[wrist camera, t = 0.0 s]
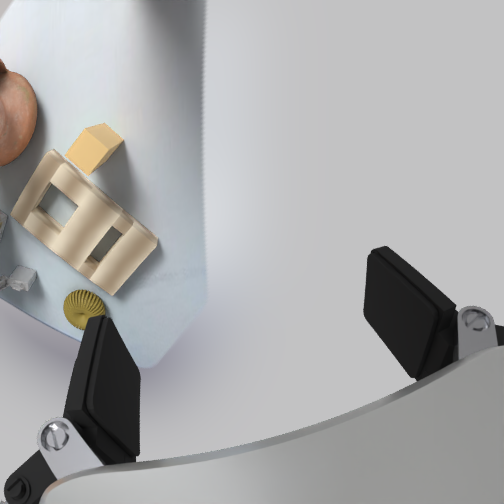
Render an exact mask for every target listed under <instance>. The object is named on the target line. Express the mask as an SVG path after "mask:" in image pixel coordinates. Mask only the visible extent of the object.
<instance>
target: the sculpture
mask: <svg viewBox="0 0 504 504" xmlns="http://www.w3.org/2000/svg"><path fill="white" fill-rule="evenodd" d="M89 294H90V296H89ZM92 294H93V292H91V293H90V291H88V292H87V290H76V291H74V292H71V293H70V294H69V295H68V296H67V297H66V299H65V301H64V307H63V310H64V314H65V317H66V318H67V320H68V321H69V322H70V323H71V324H72V325H73V326H74V327H76V326H77V327H76V328H78V327H79V329H80V330H81V328H82V330H85V328H86V324H87V321H88V319H89V318H90V317H94V316H99V315H105V307H104V304H103V302H102V301H101V299H100V298H99V297H98V296H96V294H93V295H92ZM95 298H96V299H95ZM79 325H80V326H79Z"/></svg>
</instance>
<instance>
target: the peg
mask: <svg viewBox="0 0 504 504" xmlns="http://www.w3.org/2000/svg"><path fill="white" fill-rule="evenodd" d="M123 141H124V140H123V139H122V138H121V137H120V136H119V135H118V134H117V133H115V132H114V131H113V130H112V129H111V128H110V127H109V126H108V125H106V124H105V123H103V124H99V125H95V126H92V127H88V128H85V129H84V130H83V132H82V133H81V134H80V135H79V137H78V138H77V139H76V141H75V142H74V143H73V145H72V146H71V147H70V149H69V150H68V151H67V153H66V154H65V156H66V157H67V158H68V159H69V160H70V161H72V162H73V163H74V164H75V165H76V166H77V167H78V168H79V169H81V170H82V171H83V172H84V173H85V174H86V175H87V176H89V175H90V174H91V173H92V172H94V171H95V170H96V169H97V168H98V167H100V166H101V165H102V164H103V163H104V162H106V161H107V160H108V158H109V157H110V156H111V155H112V154H113V152H114V151H115V150H116V149H117V148H118V146H119V145H120V144H121V143H122V142H123Z"/></svg>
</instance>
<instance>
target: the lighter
mask: <svg viewBox="0 0 504 504" xmlns="http://www.w3.org/2000/svg"><path fill="white" fill-rule="evenodd" d="M36 278H37V271H36V270H34V269H30V268H26V267H23V266H19V265H18V266H17V268H16V269H15V270H14V272H13V273H12V274H11V276H10V277H9V278H7V277H6V276H5V275H2V276H0V291H1V290H3V289H5V288H7V287H8V286H11V287H12V289H14V290H17V291H21V290H24V291H29V289H30V287H31V286H32V284H33V283H34V281H35V279H36Z"/></svg>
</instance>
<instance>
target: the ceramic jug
mask: <svg viewBox="0 0 504 504" xmlns="http://www.w3.org/2000/svg"><path fill="white" fill-rule="evenodd" d="M36 121H37V100H36V96H35V93H34V90H33V88H32V86H31V84H30V83H29V82H28V81H27V79H26V78H24V77H23V76H22V75H20V74H18V73H15V72H11V71H9V70H8V69H6V67H5V64H4V63H3V62H2V60H1V59H0V166H4V165H6V164H8V163H10V162H12V161H13V160H15V159H16V158H17V157H18V156H19V155H20V154H21V153H22V152H23V151H24V149H25V148H26V146H27V145H28V143H29V141H30V139H31V137H32V135H33V132H34V129H35V126H36Z"/></svg>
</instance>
